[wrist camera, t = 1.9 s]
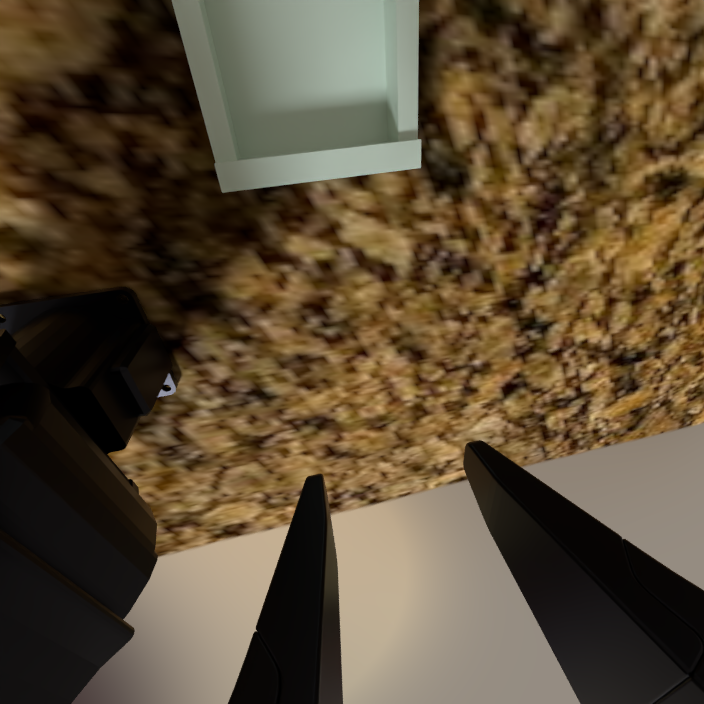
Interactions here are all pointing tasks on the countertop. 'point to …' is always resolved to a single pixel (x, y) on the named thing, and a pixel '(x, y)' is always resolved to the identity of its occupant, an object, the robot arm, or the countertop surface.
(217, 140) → the tray shell
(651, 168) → the countertop surface
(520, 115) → the countertop surface
